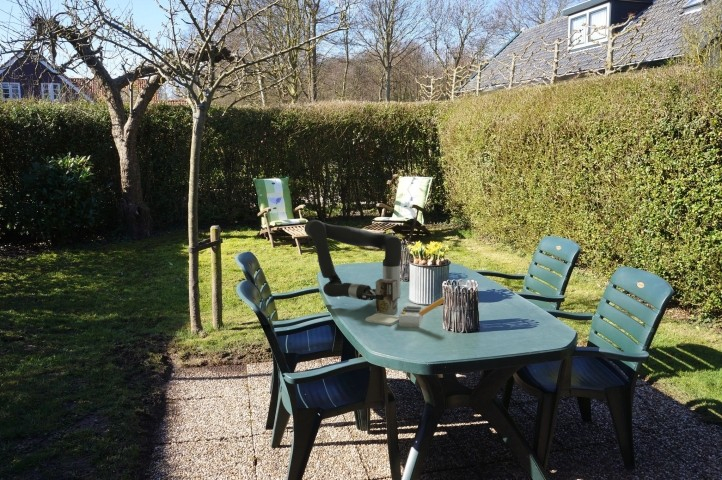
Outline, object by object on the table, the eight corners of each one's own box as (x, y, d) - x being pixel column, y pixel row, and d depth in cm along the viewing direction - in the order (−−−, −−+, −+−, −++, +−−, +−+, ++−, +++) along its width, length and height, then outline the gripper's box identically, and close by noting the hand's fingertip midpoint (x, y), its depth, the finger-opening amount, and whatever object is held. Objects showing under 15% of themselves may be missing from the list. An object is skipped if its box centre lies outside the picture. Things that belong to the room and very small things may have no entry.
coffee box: (398, 312, 274) (397, 279, 271) (393, 315, 268) (393, 282, 265) (380, 310, 277) (380, 278, 275) (375, 313, 272) (375, 281, 269)
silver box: (403, 317, 265) (403, 305, 264) (422, 318, 263) (422, 306, 262) (398, 326, 252) (398, 313, 251) (419, 327, 250) (419, 314, 249)
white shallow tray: (377, 315, 269) (377, 312, 269) (402, 319, 262) (402, 317, 261) (365, 321, 260) (365, 318, 260) (391, 325, 253) (391, 323, 253)
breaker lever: (420, 310, 254) (449, 292, 250) (422, 314, 254) (452, 296, 250) (419, 312, 251) (449, 294, 247) (421, 316, 251) (451, 297, 247)
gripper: (351, 287, 273) (380, 291, 264) (367, 281, 285) (395, 285, 276) (351, 302, 274) (380, 307, 266) (367, 295, 286) (395, 300, 277)
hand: (388, 295), depth 271 cm, fingers open, 8 cm apart
